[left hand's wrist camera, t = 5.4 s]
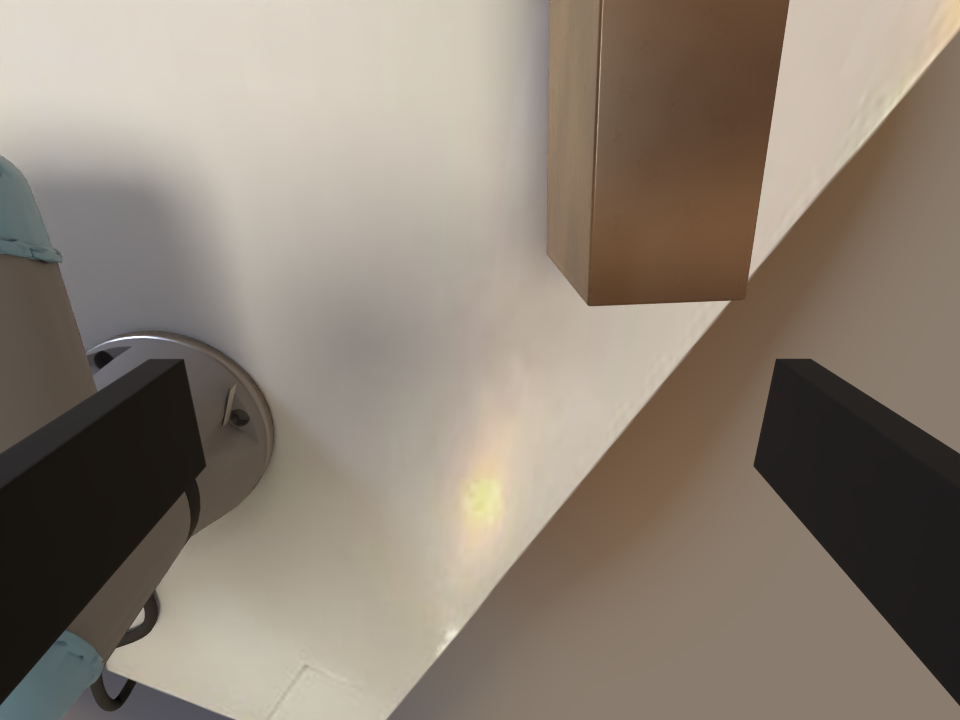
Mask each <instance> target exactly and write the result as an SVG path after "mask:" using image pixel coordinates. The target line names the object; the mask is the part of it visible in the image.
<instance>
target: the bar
mask: <svg viewBox="0 0 960 720" xmlns="http://www.w3.org/2000/svg"><path fill="white" fill-rule="evenodd" d="M788 6H789V0H550V6H549V93H548V181H547V255H548V257H549V258H550V259H551V260H552V262H553V263H554V264H555V265H556V266H557V268H558V269H559V270H560V271H561V273H562V274H563V275H564V276H565V278H566V279H567V280H568V281H569V283H570V284H571V285H572V286H573V288H574V289H575V290H576V291H577V293H578V294H579V295H580V296H581V298H582V299H583V300H584V301H585V303H586V304H587V305H588V306H609V305H633V304H657V303H681V302H705V301H729V300H743V299H745V296H746V289H747V282H748V275H749V269H750V262H751V255H752V248H753V242H754V235H755V228H756V222H757V215H758V208H759V201H760V195H761V188H762V181H763V174H764V168H765V161H766V154H767V148H768V141H769V134H770V127H771V121H772V114H773V107H774V101H775V94H776V87H777V80H778V74H779V67H780V60H781V53H782V47H783V40H784V33H785V27H786V20H787V13H788Z"/></svg>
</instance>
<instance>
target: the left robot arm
mask: <svg viewBox="0 0 960 720" xmlns="http://www.w3.org/2000/svg"><path fill="white" fill-rule="evenodd" d="M58 262H62V256H61V253H60V252H59V251H57V250H56V249H54V248H53V247H52V244H51V242H50V239H49V236H48V234H47V231H46V228H45V226H44V223H43V220H42V218H41V215H40V212H39V210H38V207H37V204H36V201H35V199H34V196H33V193H32V191H31V188H30V186H29V184H28V182H27V180H26V179H25V177H24V176H23V174H22V173H21V172H20V171H19V170H18V168H16V167H15V166H14V165H13V164H12V163H11V162H10V161H9V160H7V159H6V158H4V157H3V156H1V155H0V720H61V719H62V718H63V717H64V716H65V714H66V713H67V712H68V710H69V709H70V708H71V707H72V705H73V704H74V703H75V701H76V700H77V699H78V698H79V696H80V695H81V694H82V692H83V691H84V690H85V689H87V688H88V687H89V686H90V687H91V691H92V693H93V696H94V698H95V700H96V702H97V704H98V705H99V706H100V708H102V709H103V710H105V711H114V710H116V709H118V708H120V707H121V706H122V705H123V704H124V703H125V701H126V700H127V698H128V697H129V695H130V693H131V692H132V690H133V688H134V686H135V685H136V683H137V681H134V680H132V679H129V678H128V680H127V682H126V683H125V685H124V687H123V688H122V690H121V692H120V693H119V695H118V696H117V697H116V698H115V699H114V700H113V699H111V698H110V697H109V696H108V694H107V692H106V690H105V687H104V684H103V679H102V671H103V668H104V667H103V666H104V665H105V663H106V662H107V660H108V659H109V657H110V656H111V654H112V653H113V651H114V650H115V648H118V647H121V646H124V645H127V644H130V643H132V642H135V641H137V640H139V639H141V638H143V637H144V636H146V635H147V634H148V633H149V632H150V631H151V630H152V628H153V627H154V625H155V623H156V620H157V615H158V609H157V604H156V601H155V598H154V596H153V592H154V590H155V589H156V587H157V586H158V584H159V583H160V581H161V580H162V578H163V577H164V575H165V574H166V572H167V571H168V569H169V568H170V566H171V565H172V563H173V562H174V560H175V559H176V557H177V556H178V554H179V553H180V551H181V550H182V548H183V547H184V545H185V544H186V543H187V541H188V540H189V538H190V537H191V536H193V535H194V534H196V533H197V532H199V531H200V530H202V529H203V528H205V527H206V526H208V525H209V524H211V523H213V522H214V521H216V520H217V519H219V518H220V517H222V516H223V515H225V514H226V513H228V512H229V511H231V510H232V509H234V508H235V507H236V506H237V505H238V504H240V503H241V502H242V501H243V500H244V499H245V498H246V497H247V496H248V495H249V493H250V492H251V491H252V490H253V489H254V488H255V486H256V485H257V483H258V482H259V480H260V478H261V477H262V475H263V473H264V472H265V470H266V468H267V466H268V463H269V461H270V458H271V454H272V450H273V443H274V432H273V424H272V419H271V415H270V412H269V409H268V406H267V404H266V402H265V399H264V397H263V396H262V394H261V392H260V390H259V389H258V387H257V386H256V385H255V383H254V382H253V381H252V379H251V378H250V377H249V376H248V375H247V373H246V372H245V371H244V370H243V369H242V368H241V367H240V366H238V365H237V364H236V363H235V362H234V361H233V360H231V359H230V358H229V357H227V356H226V355H224V354H223V353H221V352H220V351H218V350H216V349H215V348H213V347H211V346H209V345H207V344H205V343H203V342H200V341H198V340H195V339H193V338H190V337H186V336H183V335H179V334H174V333H168V332H160V331H142V332H133V333H127V334H123V335H119V336H116V337H114V338H111V339H108V340H106V341H105V342H103V343H101V344H99V345H97V346H95V347H93V348H91V349H89V350H88V351H86V352H85V349H84V346H83V343H82V340H81V336H80V333H79V330H78V327H77V324H76V320H75V317H74V314H73V311H72V307H71V304H70V301H69V298H68V294H67V291H66V288H65V285H64V281H63V278H62V275H61V272H60V269H59V265H58ZM754 467H755V468H756V470H757V471H758V472H759V473H760V474H761V475H762V476H763V478H764V479H765V480H766V481H767V482H768V483H769V485H770V486H771V487H772V488H773V489H774V490H775V492H776V493H777V494H778V495H779V496H780V497H781V499H782V500H783V501H784V502H785V503H786V504H787V506H788V507H789V508H790V509H791V510H792V511H793V513H794V514H795V515H796V516H797V517H798V518H799V519H800V521H801V522H802V523H803V524H804V525H805V526H806V528H807V529H808V530H809V531H810V532H811V533H812V535H813V536H814V537H815V538H816V539H817V540H818V542H819V543H820V544H821V545H822V546H823V547H824V549H825V550H826V551H827V552H828V553H829V554H830V556H831V557H832V558H833V559H834V560H835V561H836V562H837V564H838V565H839V566H840V567H841V568H842V569H843V571H844V572H845V573H846V574H847V575H848V576H849V578H850V579H851V580H852V581H853V582H854V583H855V585H856V586H857V587H858V588H859V589H860V590H861V592H862V593H863V594H864V595H865V596H866V597H867V599H868V600H869V601H870V602H871V603H872V604H873V605H874V607H875V608H876V609H877V610H878V611H879V612H880V614H881V615H882V616H883V617H884V618H885V619H886V621H887V622H888V623H889V624H890V625H891V626H892V628H893V629H894V630H895V631H896V632H897V633H898V635H899V636H900V637H901V638H902V639H903V640H904V641H905V643H906V644H907V645H908V646H909V647H910V648H911V650H912V651H913V652H914V653H915V654H916V655H917V657H918V658H919V659H920V660H921V661H922V662H923V664H924V665H925V666H926V667H927V668H928V669H929V670H930V672H931V673H932V674H933V675H934V676H935V677H936V679H937V680H938V681H939V682H940V683H941V684H942V686H943V687H944V688H945V689H946V690H947V691H948V693H949V694H950V695H951V696H952V697H953V698H954V700H955V701H956V702H957V703H958V704H959V705H960V454H959V453H958V452H956V451H955V450H953V449H951V448H950V447H948V446H947V445H945V444H944V443H942V442H940V441H939V440H937V439H936V438H934V437H932V436H931V435H929V434H928V433H926V432H925V431H923V430H922V429H920V428H918V427H917V426H915V425H914V424H912V423H911V422H909V421H907V420H906V419H904V418H903V417H901V416H900V415H898V414H896V413H895V412H893V411H892V410H890V409H889V408H887V407H885V406H884V405H882V404H881V403H879V402H878V401H876V400H874V399H873V398H871V397H870V396H868V395H867V394H865V393H864V392H862V391H860V390H859V389H857V388H856V387H854V386H852V385H851V384H849V383H848V382H846V381H845V380H843V379H841V378H840V377H838V376H837V375H835V374H834V373H832V372H831V371H829V370H827V369H826V368H824V367H823V366H821V365H820V364H818V363H816V362H815V361H813V360H812V359H776V362H775V367H774V371H773V376H772V381H771V386H770V390H769V395H768V400H767V405H766V409H765V414H764V419H763V423H762V428H761V433H760V438H759V442H758V447H757V452H756V456H755V461H754ZM143 607H144V610H145V619H144V622H143V624H142V625H141V626H140V627H139V628H137V629H136V630H134V631H131V632H129V633H126V632H127V631H128V629H129V628H130V626H131V625H132V623H133V622H134V620H135V619H136V617H137V616H138V614H139V613H140V611H141V610H142V608H143ZM125 633H126V634H125Z"/></svg>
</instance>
